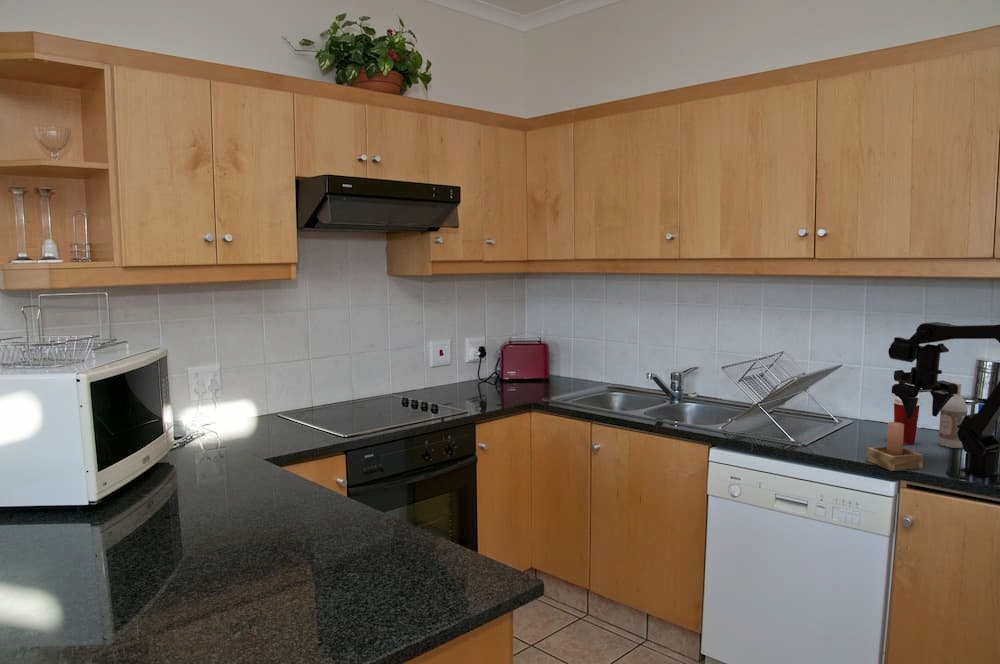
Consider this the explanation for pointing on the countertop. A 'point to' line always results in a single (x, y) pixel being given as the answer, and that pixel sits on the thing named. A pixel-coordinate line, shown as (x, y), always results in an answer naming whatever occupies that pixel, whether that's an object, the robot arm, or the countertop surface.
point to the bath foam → (952, 420)
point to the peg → (895, 438)
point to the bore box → (894, 459)
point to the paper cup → (906, 420)
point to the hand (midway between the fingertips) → (921, 417)
